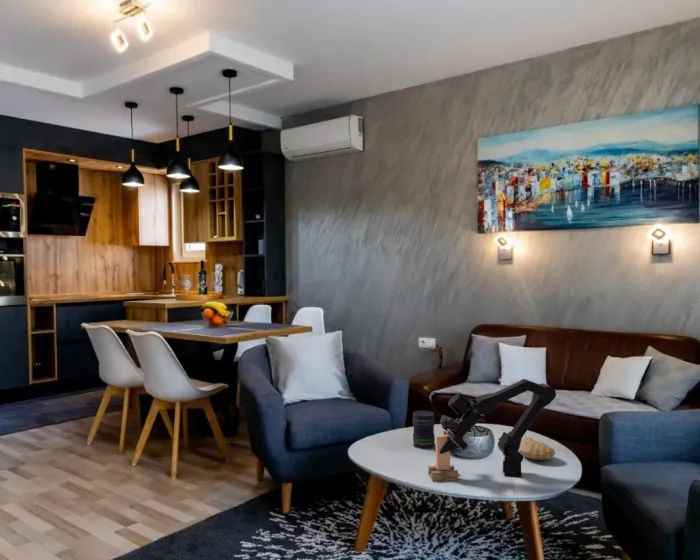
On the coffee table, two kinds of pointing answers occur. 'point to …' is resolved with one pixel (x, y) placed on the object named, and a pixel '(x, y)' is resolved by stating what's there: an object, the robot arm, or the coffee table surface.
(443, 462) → the peach rectangular block
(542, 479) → the coffee table surface
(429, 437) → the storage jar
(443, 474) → the rack
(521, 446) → the nautilus
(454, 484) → the coffee table surface
